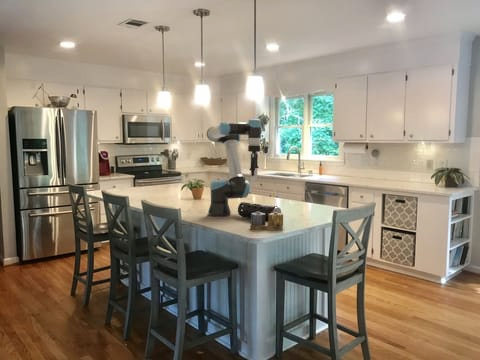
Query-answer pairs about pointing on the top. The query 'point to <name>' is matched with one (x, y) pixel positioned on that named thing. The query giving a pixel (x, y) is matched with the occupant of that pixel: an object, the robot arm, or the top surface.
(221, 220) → the top surface
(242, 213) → the muzzle brake
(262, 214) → the steel gear
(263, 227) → the gear board
